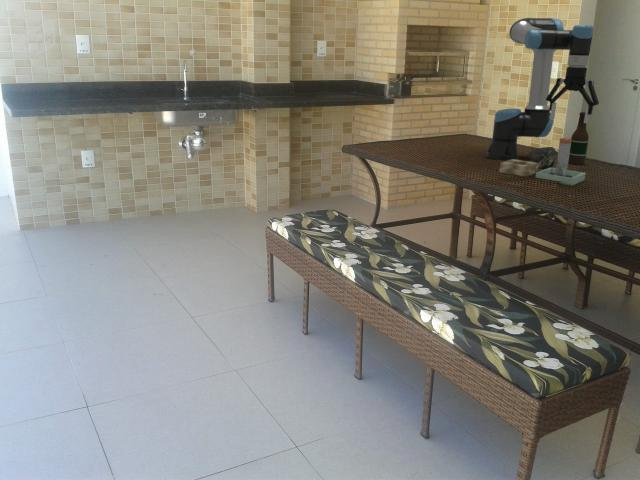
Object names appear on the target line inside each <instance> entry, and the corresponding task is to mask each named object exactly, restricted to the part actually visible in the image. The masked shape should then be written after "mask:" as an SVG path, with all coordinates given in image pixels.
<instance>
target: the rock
mask: <svg viewBox="0 0 640 480" xmlns="http://www.w3.org/2000/svg"><path fill="white" fill-rule="evenodd" d="M556 156H557V150H556V149H555V148H554V147H553V146H548V147H547V146H544V147H540V148H534V149H532V150H531V151H530V152H529V153H528V158H529V159H530V161H529V162H535V163H539V166H538V169H543V170H545V169H548V168H554V166H555V160H556Z"/></svg>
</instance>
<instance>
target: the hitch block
mask: <svg viewBox="0 0 640 480" xmlns="http://www.w3.org/2000/svg"><path fill="white" fill-rule="evenodd" d="M538 166H539V163H535V162H530V161H526V160H521V159H517V160H515V159H511V160H504V161H502V162H500V163H499V173H502V174H507V175H508V174H509V175H515V176H521V177H528V176H532V175H534V174H535V175H536V173H537V172H539V167H538Z"/></svg>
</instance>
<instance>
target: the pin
mask: <svg viewBox="0 0 640 480" xmlns="http://www.w3.org/2000/svg"><path fill="white" fill-rule="evenodd" d="M558 144H559V145H558V150H557V151H558V152H557V159H556V166H555V168H556V171H555V173H554V175H557V176H563V177H567V175H566V174H567V170H568V166H569V163H568V160H569V153H570V146H571V138H568V137H560V138H559V143H558Z"/></svg>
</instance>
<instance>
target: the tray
mask: <svg viewBox="0 0 640 480" xmlns="http://www.w3.org/2000/svg"><path fill="white" fill-rule="evenodd" d="M555 171H556V167H553V168H548V169H543V170H540V171H539V170H538V172H537V173H535V178H536V179H543V180H549V181H554V182H557V183H556V184H560V185H565V186H569V187H572V186H574V185H576V184H579V183H581V182H584V181H585V180H586V179H585V178H586V174H587V173H586V172H581V171H576V170H568V169H567V174H566V177H563V176H557V175H555ZM568 176H569V177H568Z"/></svg>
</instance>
